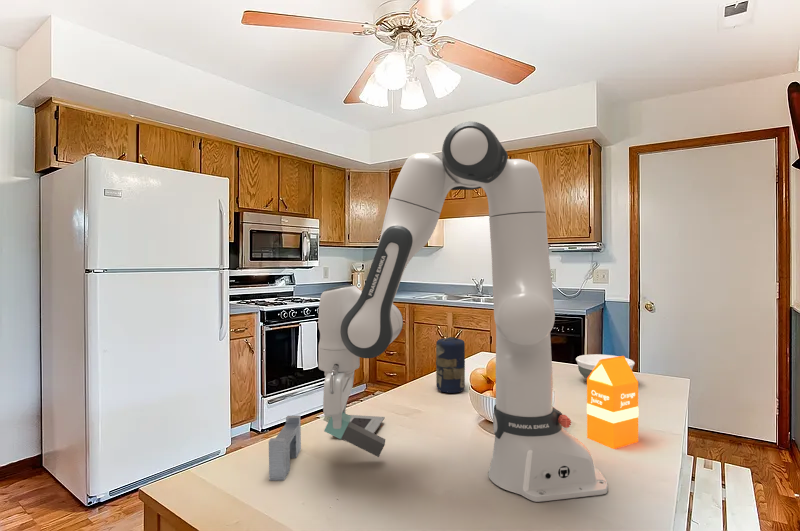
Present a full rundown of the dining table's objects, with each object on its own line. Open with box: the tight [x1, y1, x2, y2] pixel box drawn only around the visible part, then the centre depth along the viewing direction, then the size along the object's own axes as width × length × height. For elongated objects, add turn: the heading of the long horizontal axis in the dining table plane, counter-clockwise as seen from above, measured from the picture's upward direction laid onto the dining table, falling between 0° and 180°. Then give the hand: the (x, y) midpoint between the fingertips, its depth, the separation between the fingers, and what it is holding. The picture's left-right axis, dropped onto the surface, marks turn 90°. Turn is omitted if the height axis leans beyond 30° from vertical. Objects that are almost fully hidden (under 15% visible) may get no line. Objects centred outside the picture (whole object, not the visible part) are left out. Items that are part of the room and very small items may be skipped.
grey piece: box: [268, 415, 302, 481], centre depth 101 cm, size 3×15×8 cm, turn 179°
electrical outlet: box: [349, 414, 386, 434], centre depth 120 cm, size 13×10×2 cm
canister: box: [435, 336, 466, 394], centre depth 154 cm, size 10×10×18 cm
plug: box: [322, 412, 386, 458], centre depth 101 cm, size 14×4×4 cm, turn 90°
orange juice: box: [586, 355, 639, 450], centre depth 112 cm, size 8×9×20 cm
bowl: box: [575, 353, 636, 380], centre depth 161 cm, size 19×19×8 cm
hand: (339, 422), depth 101 cm, fingers closed on plug, 4 cm apart
